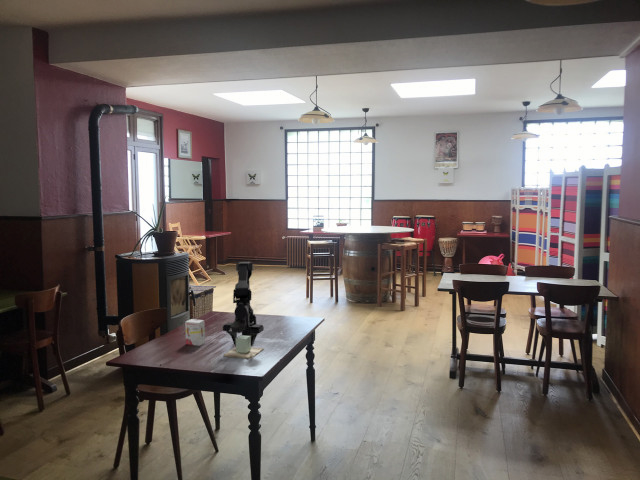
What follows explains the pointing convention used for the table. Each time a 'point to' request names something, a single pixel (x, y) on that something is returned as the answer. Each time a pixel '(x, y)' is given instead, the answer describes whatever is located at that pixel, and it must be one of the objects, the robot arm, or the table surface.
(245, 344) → the mint green box
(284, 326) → the table surface
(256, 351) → the post board
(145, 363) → the table surface
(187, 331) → the ink box
